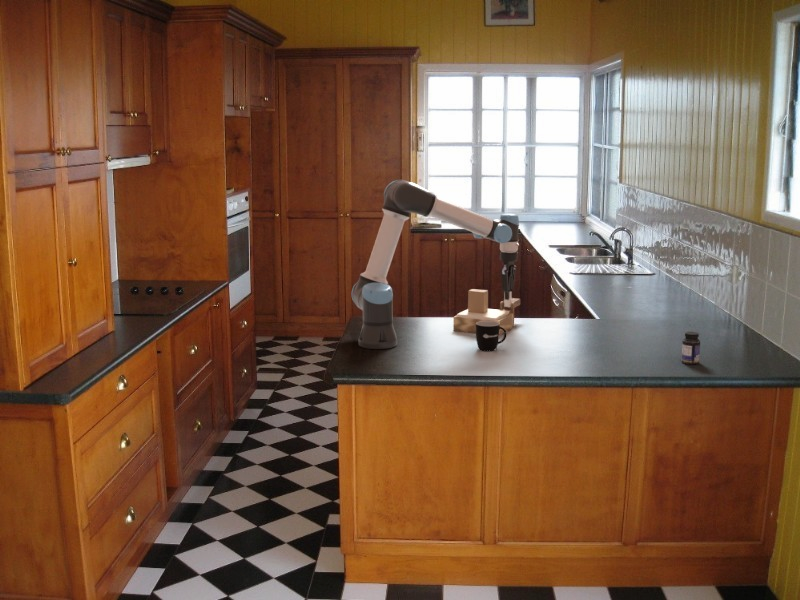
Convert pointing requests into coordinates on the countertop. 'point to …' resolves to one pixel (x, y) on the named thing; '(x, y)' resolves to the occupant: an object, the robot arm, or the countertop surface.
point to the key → (515, 300)
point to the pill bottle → (691, 348)
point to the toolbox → (470, 323)
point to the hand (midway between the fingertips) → (507, 306)
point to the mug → (488, 335)
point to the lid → (481, 307)
